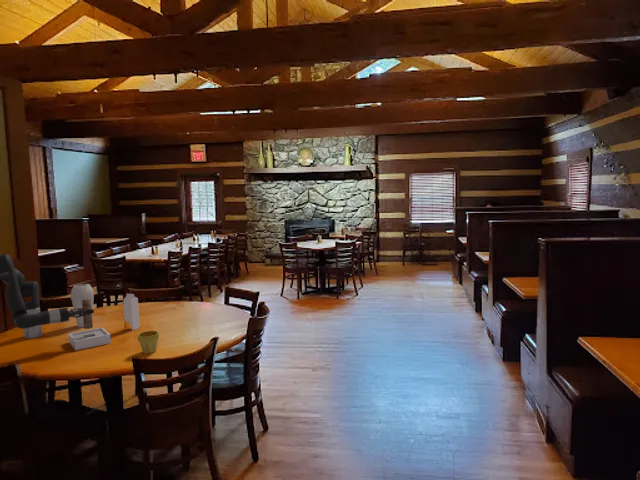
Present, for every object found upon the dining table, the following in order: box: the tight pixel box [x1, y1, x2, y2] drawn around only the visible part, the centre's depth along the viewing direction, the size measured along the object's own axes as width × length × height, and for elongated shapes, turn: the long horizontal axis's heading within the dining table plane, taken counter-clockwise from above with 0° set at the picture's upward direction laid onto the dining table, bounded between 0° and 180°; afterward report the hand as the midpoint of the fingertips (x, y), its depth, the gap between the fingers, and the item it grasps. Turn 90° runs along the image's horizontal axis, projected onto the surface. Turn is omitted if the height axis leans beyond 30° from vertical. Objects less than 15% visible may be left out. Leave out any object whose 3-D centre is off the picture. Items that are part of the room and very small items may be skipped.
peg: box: [82, 299, 94, 330], centre depth 265 cm, size 4×4×16 cm
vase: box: [70, 283, 95, 328], centre depth 301 cm, size 13×13×26 cm
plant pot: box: [137, 330, 160, 354], centre depth 249 cm, size 10×10×10 cm
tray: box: [67, 327, 112, 351], centre depth 267 cm, size 18×18×5 cm
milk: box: [122, 293, 141, 331], centre depth 291 cm, size 6×6×22 cm
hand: (92, 310), depth 266 cm, fingers closed on peg, 4 cm apart
